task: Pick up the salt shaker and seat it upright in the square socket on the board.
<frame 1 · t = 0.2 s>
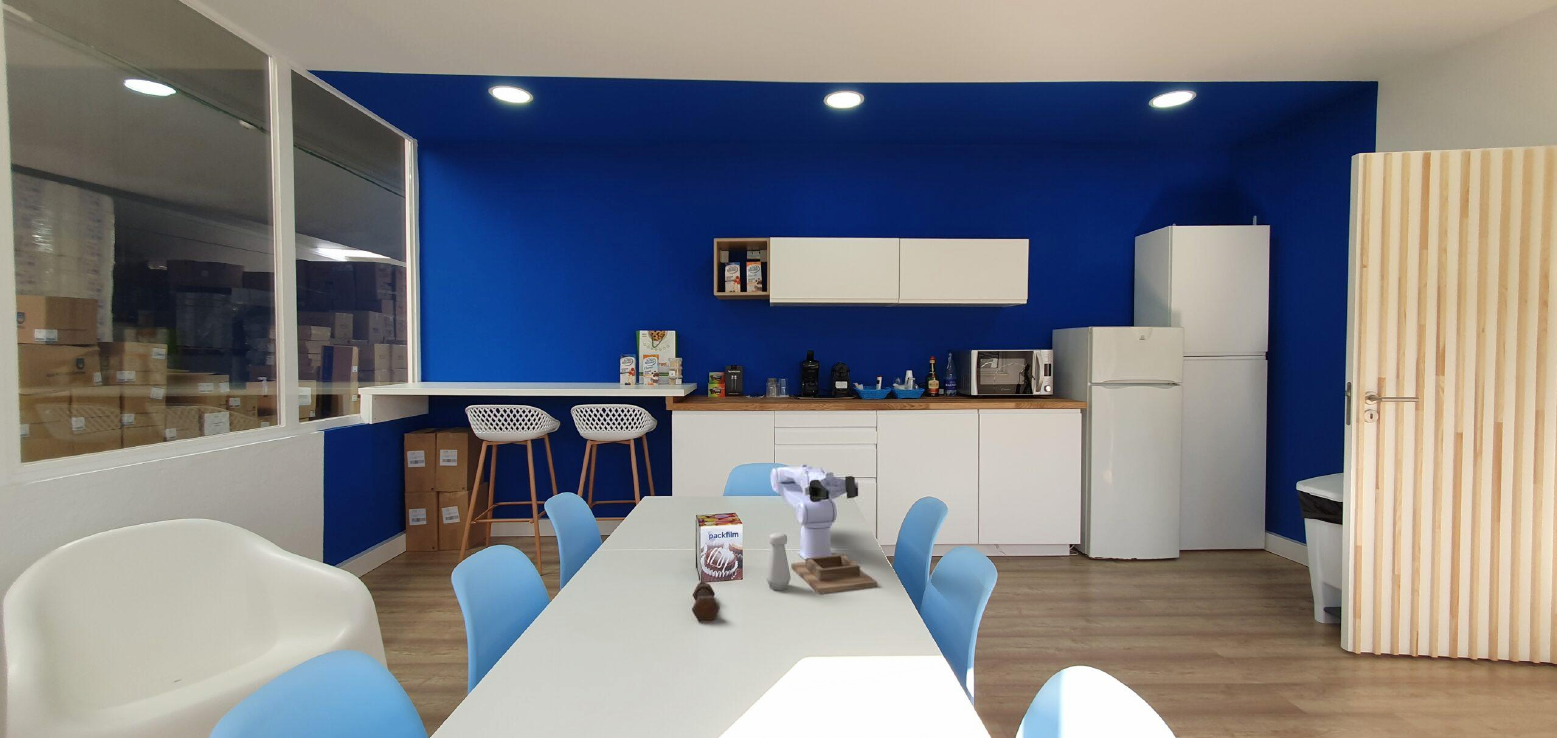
hand: (842, 493, 168), 22 cm above the table, tool horizontal, fingers open, 7 cm apart
bolt: (705, 609, 152), on the table
salt shaker: (778, 588, 164), on the table
socket board: (832, 576, 172), on the table
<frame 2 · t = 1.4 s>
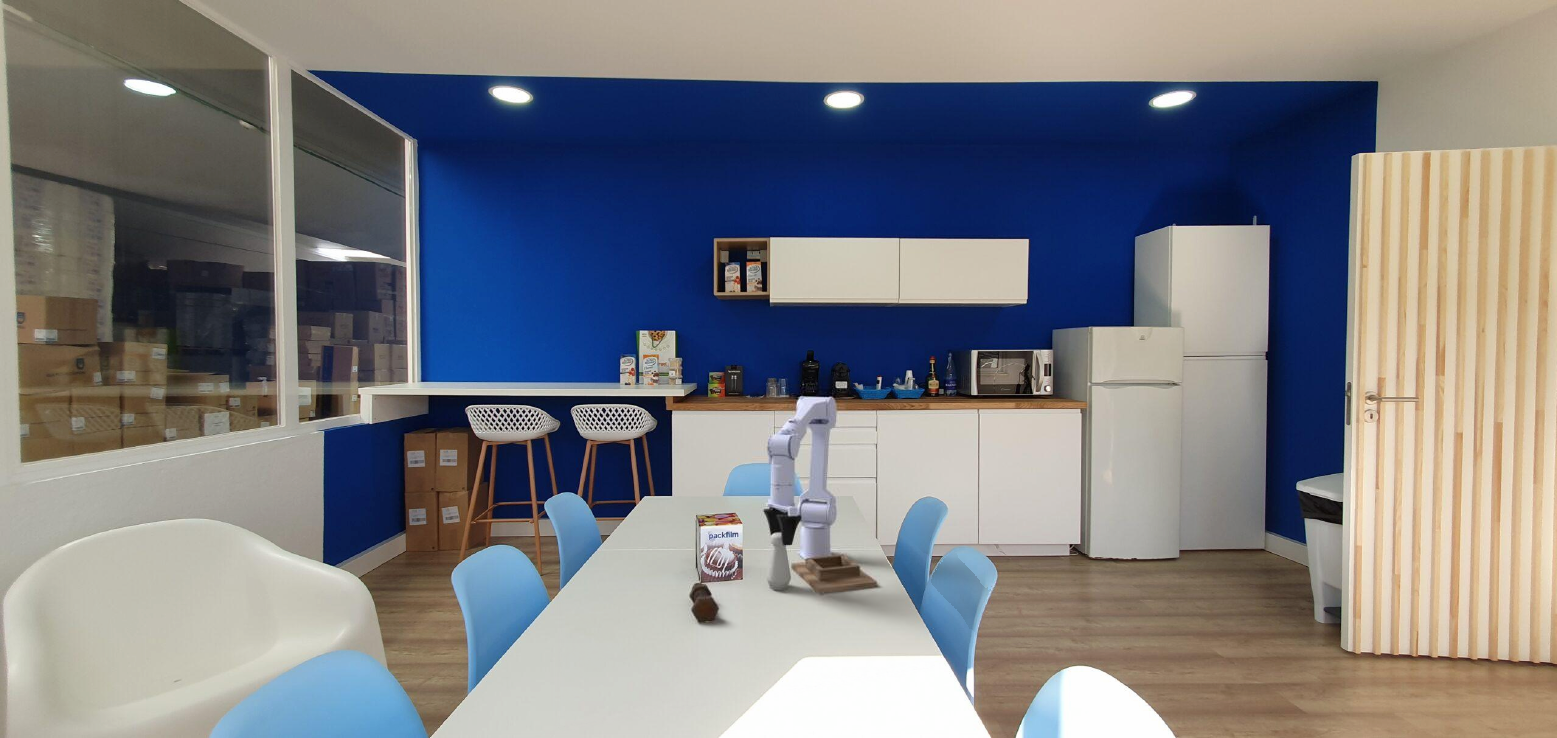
hand: (781, 541, 164), 11 cm above the table, tool pointing down, fingers open, 7 cm apart
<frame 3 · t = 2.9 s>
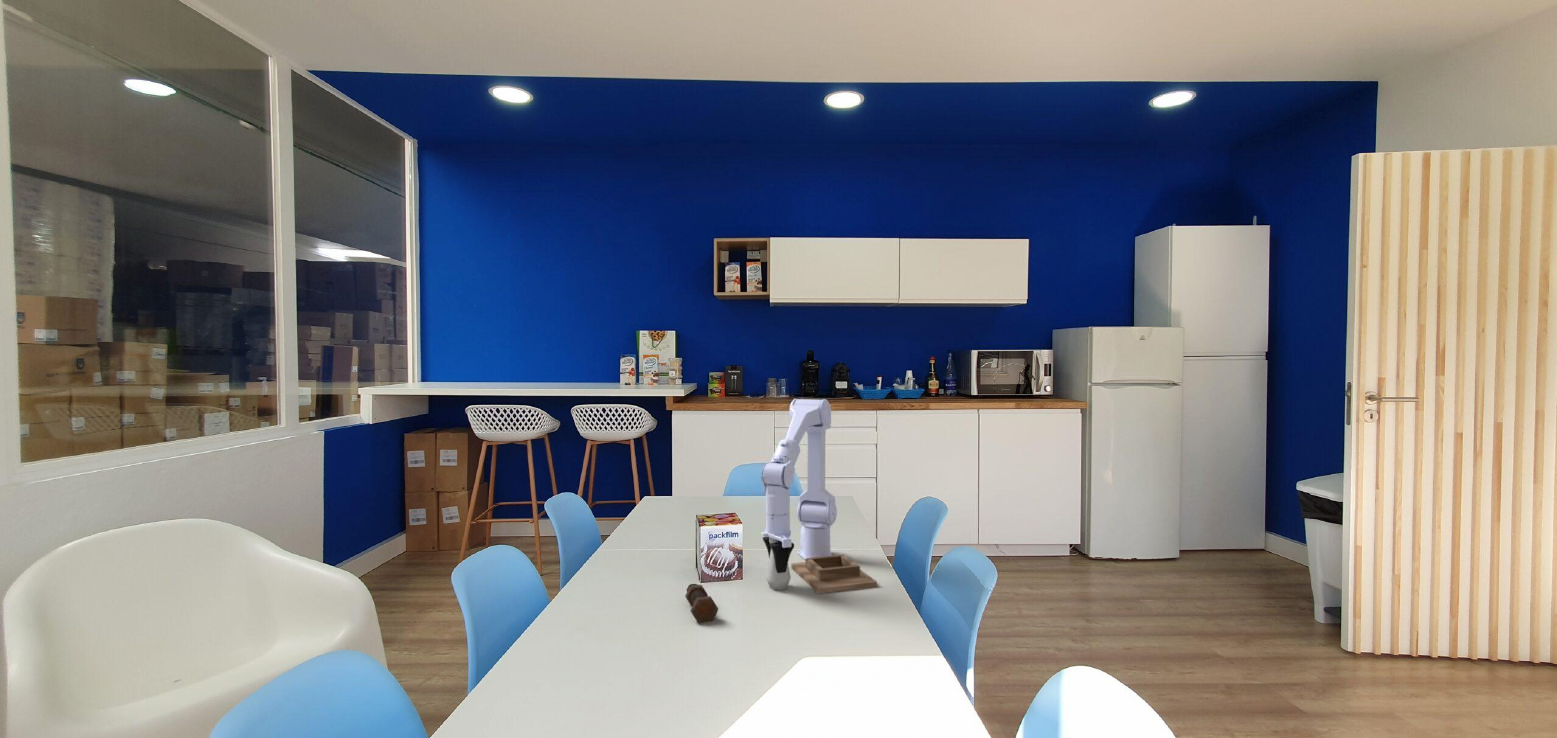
hand: (778, 569, 164), 4 cm above the table, tool pointing down, fingers closed on salt shaker, 4 cm apart
salt shaker: (778, 588, 164), on the table, touching gripper
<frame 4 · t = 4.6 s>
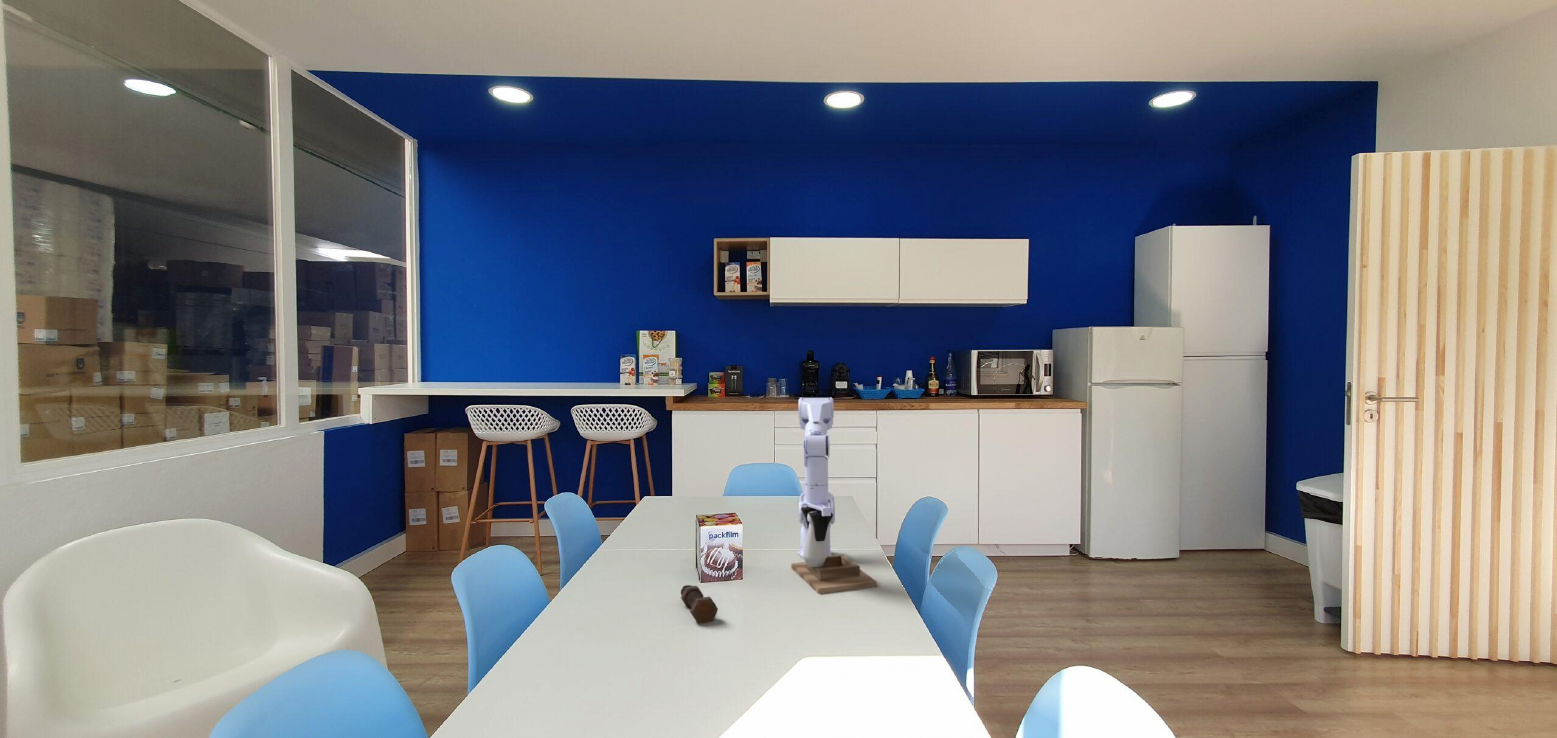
hand: (816, 538, 170), 10 cm above the table, tool pointing down, fingers closed on salt shaker, 4 cm apart
salt shaker: (814, 565, 169), point 4 cm above the table, touching gripper
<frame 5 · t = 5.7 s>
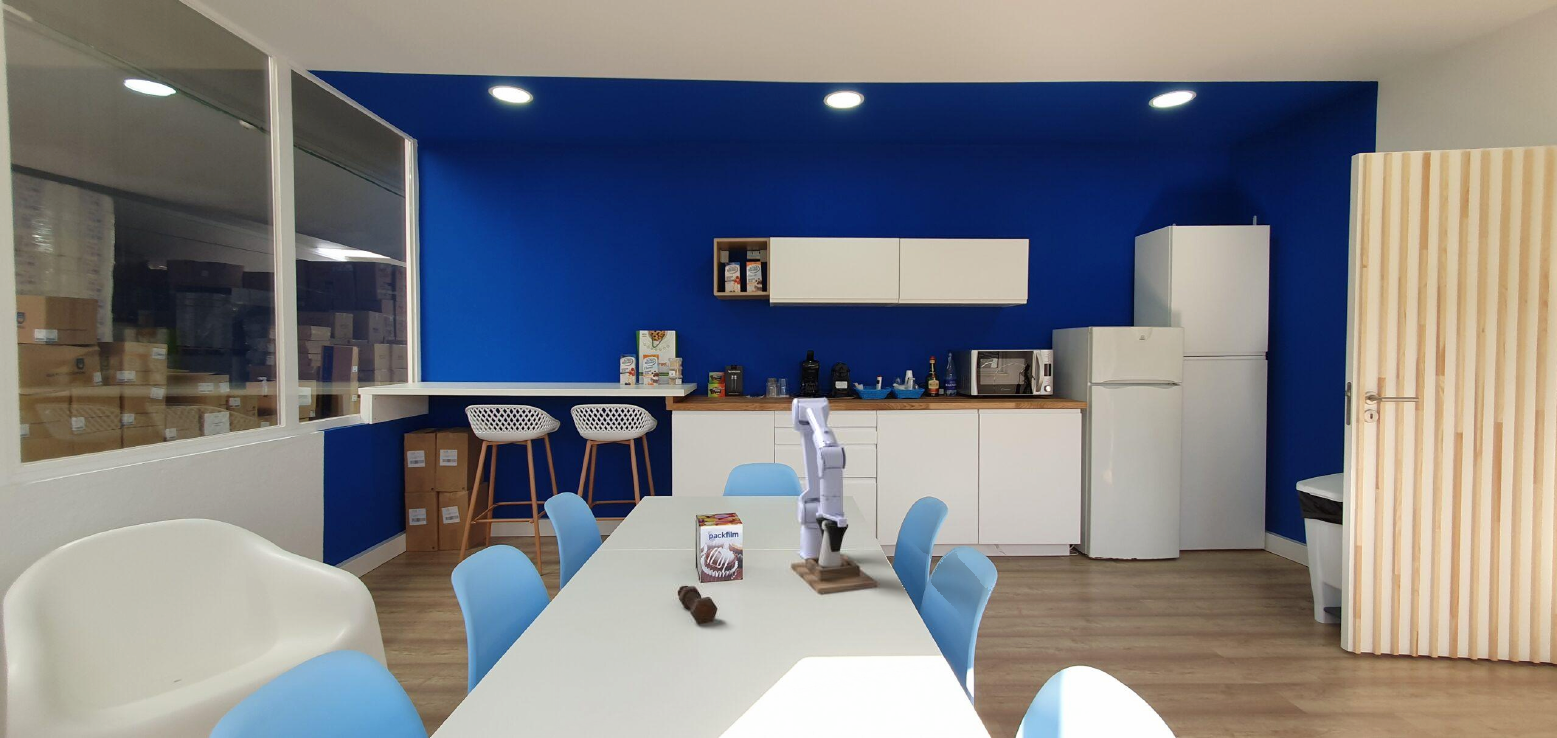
hand: (832, 548, 172), 7 cm above the table, tool pointing down, fingers closed on salt shaker, 4 cm apart
salt shaker: (830, 573, 171), point 1 cm above the table, touching gripper, socket board
when the fingers open (7 cm above the table, at t = 6.3 s): salt shaker stays where it is, resting on socket board.
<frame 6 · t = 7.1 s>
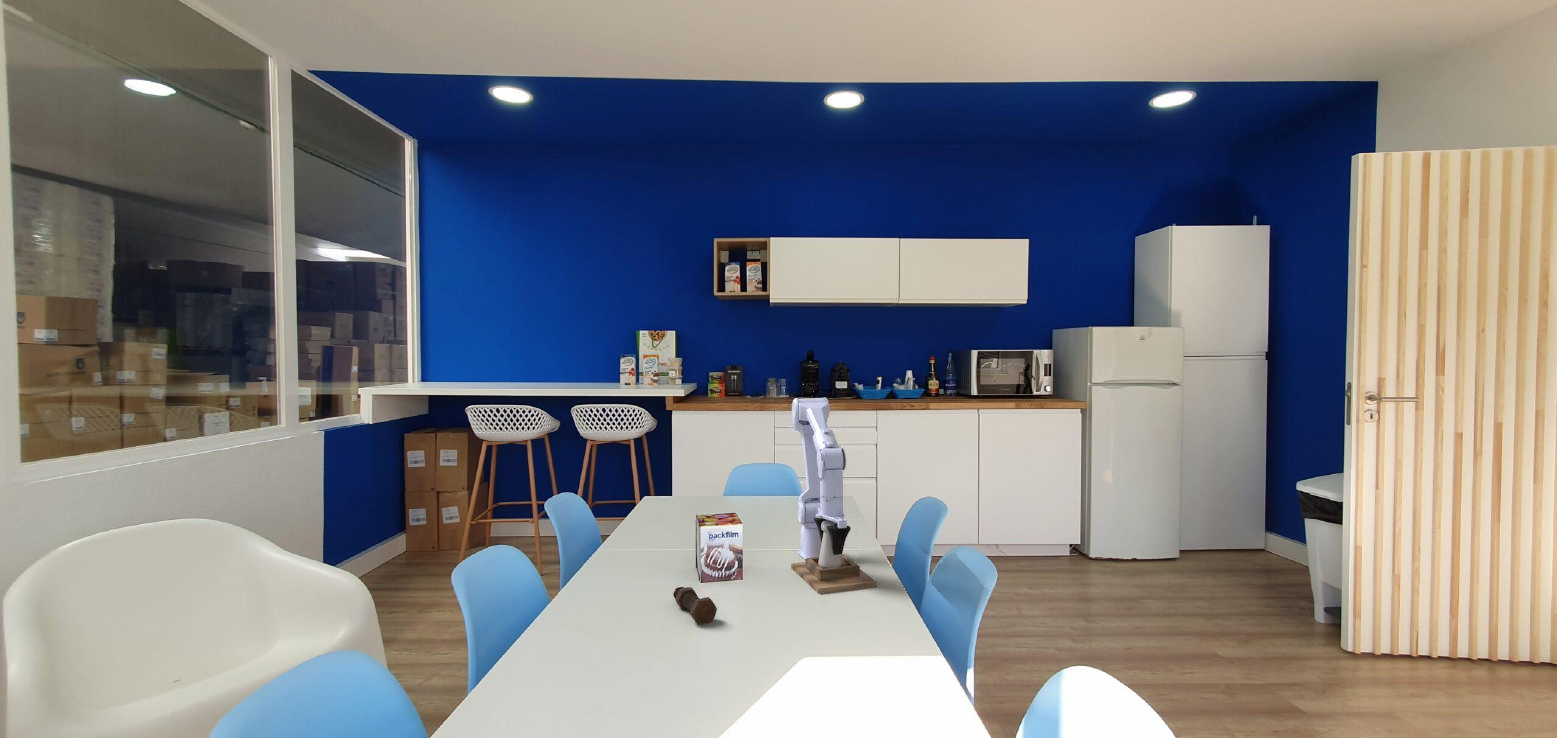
hand: (831, 549, 172), 7 cm above the table, tool pointing down, fingers open, 7 cm apart
salt shaker: (830, 573, 171), point 1 cm above the table, touching socket board
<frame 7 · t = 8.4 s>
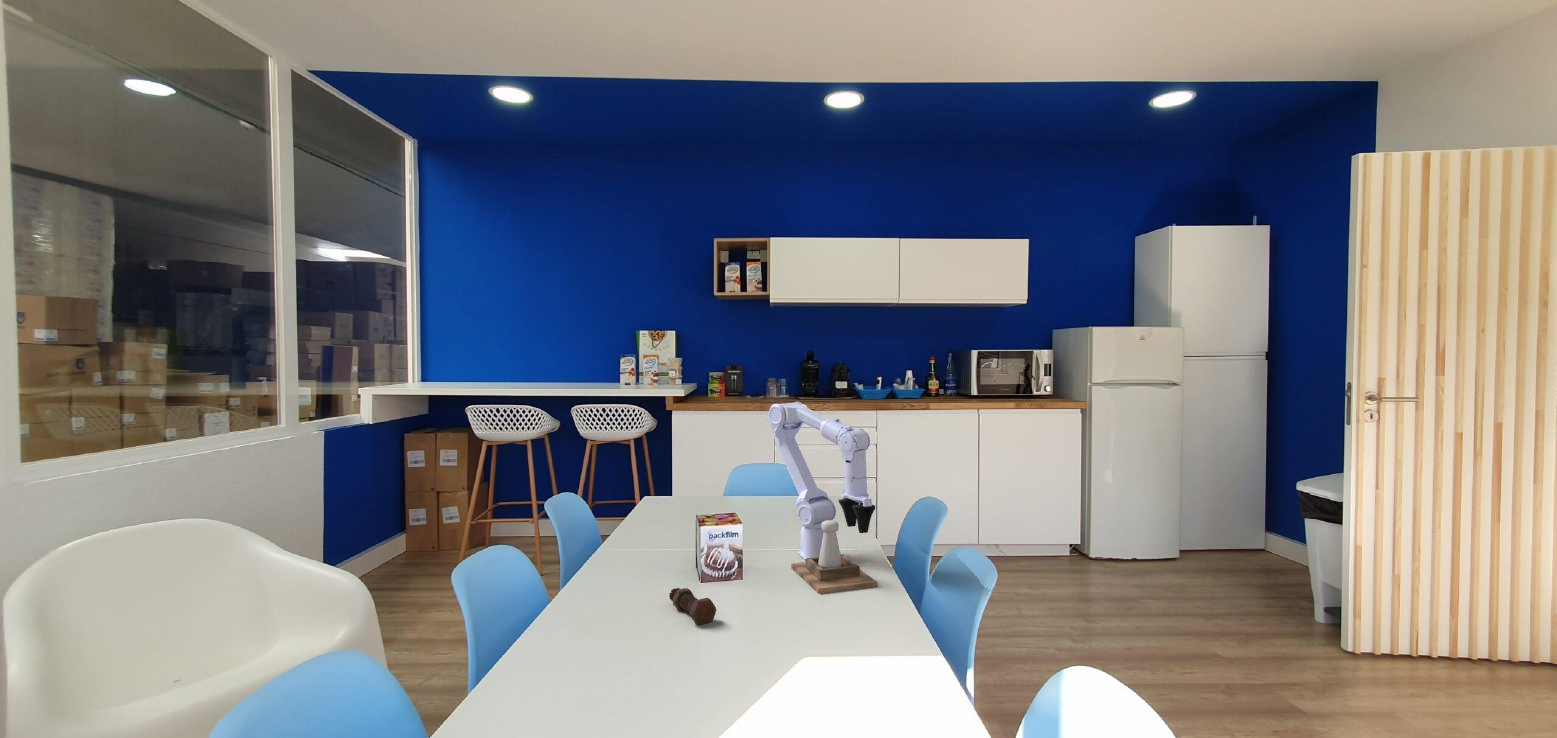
hand: (857, 529, 177), 10 cm above the table, tool pointing down, fingers open, 7 cm apart
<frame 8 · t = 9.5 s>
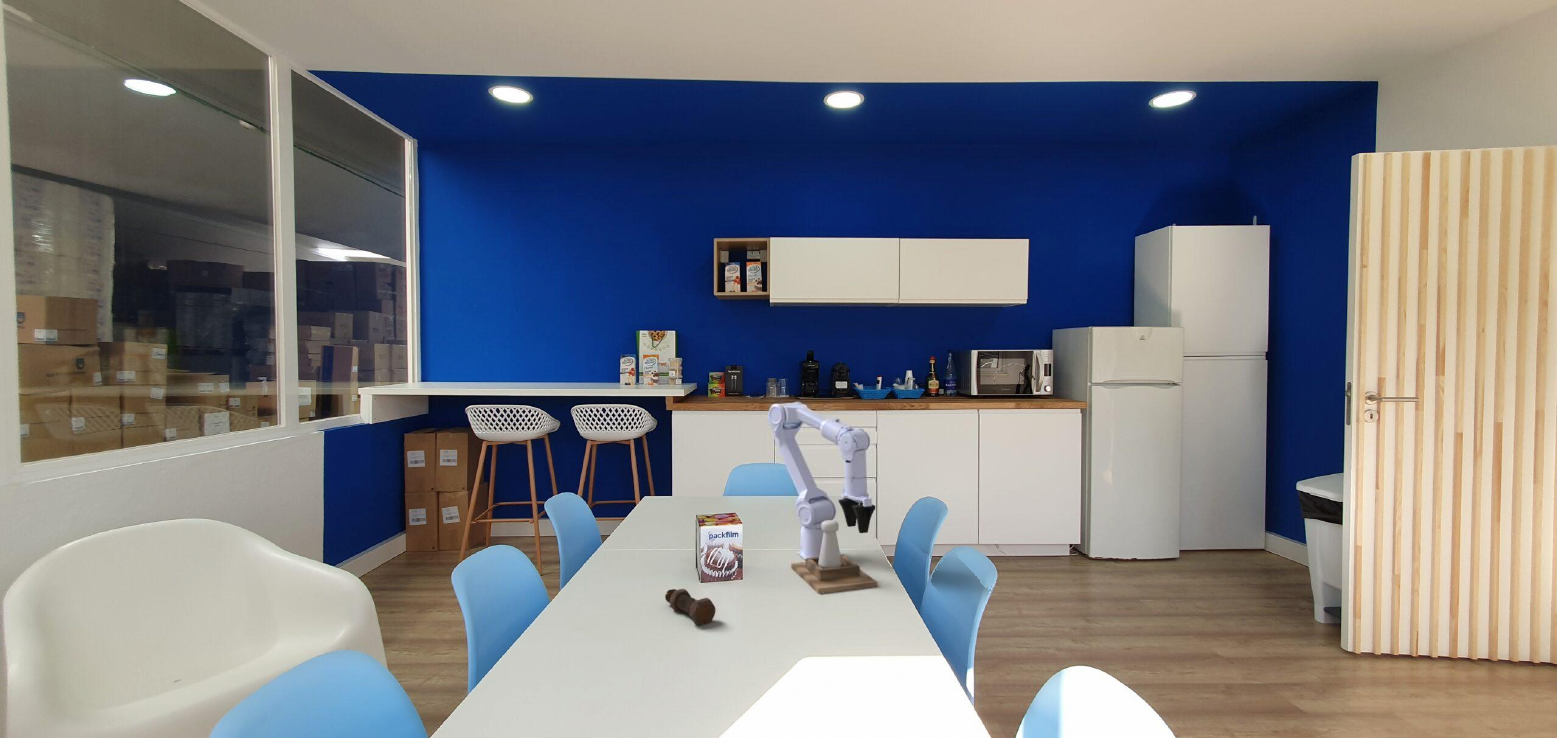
hand: (857, 529, 177), 10 cm above the table, tool pointing down, fingers open, 7 cm apart
at the end: salt shaker 0.8 cm off-centre on the socket board, point 1.0 cm above the socket board's base; salt shaker tilted 0°; the gripper is holding nothing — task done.
